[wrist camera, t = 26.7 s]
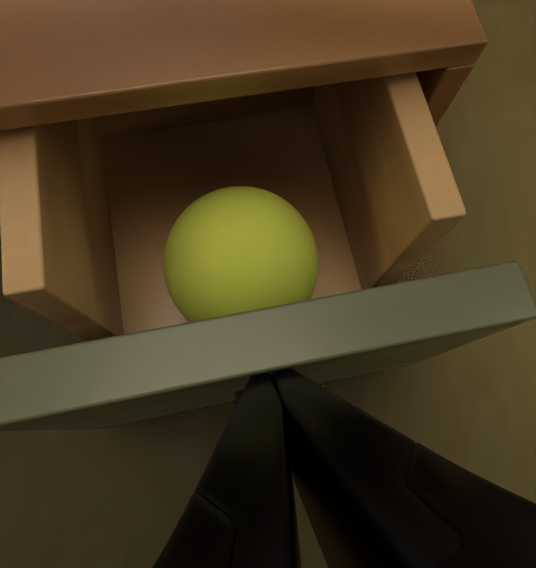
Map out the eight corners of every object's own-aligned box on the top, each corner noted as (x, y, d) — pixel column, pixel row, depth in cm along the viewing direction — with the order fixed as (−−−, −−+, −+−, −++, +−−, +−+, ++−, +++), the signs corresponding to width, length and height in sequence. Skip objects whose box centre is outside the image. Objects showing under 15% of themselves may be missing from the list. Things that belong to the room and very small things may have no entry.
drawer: (423, 399, 15) (565, 377, 8) (101, 468, 14) (-35, 508, 7) (336, 103, 19) (387, -83, 12) (71, 141, 18) (-40, -39, 11)
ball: (321, 265, 16) (365, 316, 12) (212, 328, 16) (218, 399, 12) (260, 151, 14) (288, 163, 10) (140, 221, 14) (119, 261, 10)
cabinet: (377, 220, 18) (490, 40, 10) (74, 272, 17) (-99, 120, 9) (310, -5, 22) (350, -285, 13) (53, 26, 20) (-86, -259, 12)
